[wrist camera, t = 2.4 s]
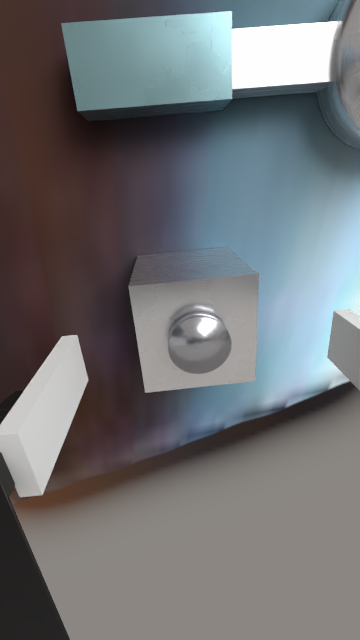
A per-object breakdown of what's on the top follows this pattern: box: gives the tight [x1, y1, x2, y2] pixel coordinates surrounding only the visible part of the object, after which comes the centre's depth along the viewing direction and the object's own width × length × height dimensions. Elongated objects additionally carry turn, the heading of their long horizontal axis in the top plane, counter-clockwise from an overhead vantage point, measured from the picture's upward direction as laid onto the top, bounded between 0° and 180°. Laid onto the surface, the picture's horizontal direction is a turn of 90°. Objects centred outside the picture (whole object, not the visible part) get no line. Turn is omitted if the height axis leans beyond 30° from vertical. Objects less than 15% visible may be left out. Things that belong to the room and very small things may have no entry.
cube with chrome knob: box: [128, 247, 259, 393], centre depth 19 cm, size 6×6×8 cm
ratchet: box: [61, 0, 360, 149], centre depth 14 cm, size 22×9×8 cm, turn 95°
